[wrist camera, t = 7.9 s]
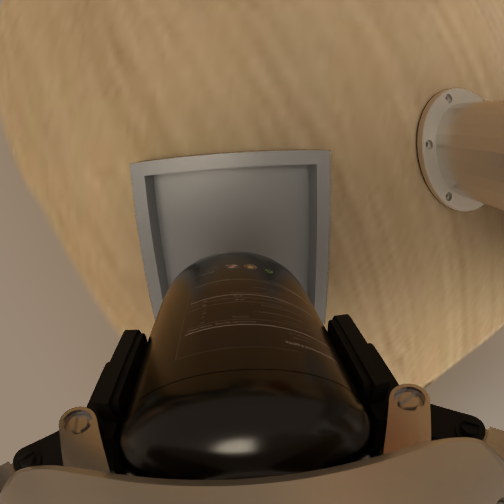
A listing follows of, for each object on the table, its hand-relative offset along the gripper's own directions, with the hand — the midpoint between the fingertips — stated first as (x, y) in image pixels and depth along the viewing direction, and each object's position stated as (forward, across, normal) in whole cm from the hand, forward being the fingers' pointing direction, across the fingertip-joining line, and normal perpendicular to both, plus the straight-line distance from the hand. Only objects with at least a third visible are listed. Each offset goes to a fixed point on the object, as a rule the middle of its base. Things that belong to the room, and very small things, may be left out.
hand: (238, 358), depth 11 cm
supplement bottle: (+3, 0, 0) cm, 3 cm away
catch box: (+15, 0, 0) cm, 15 cm away
